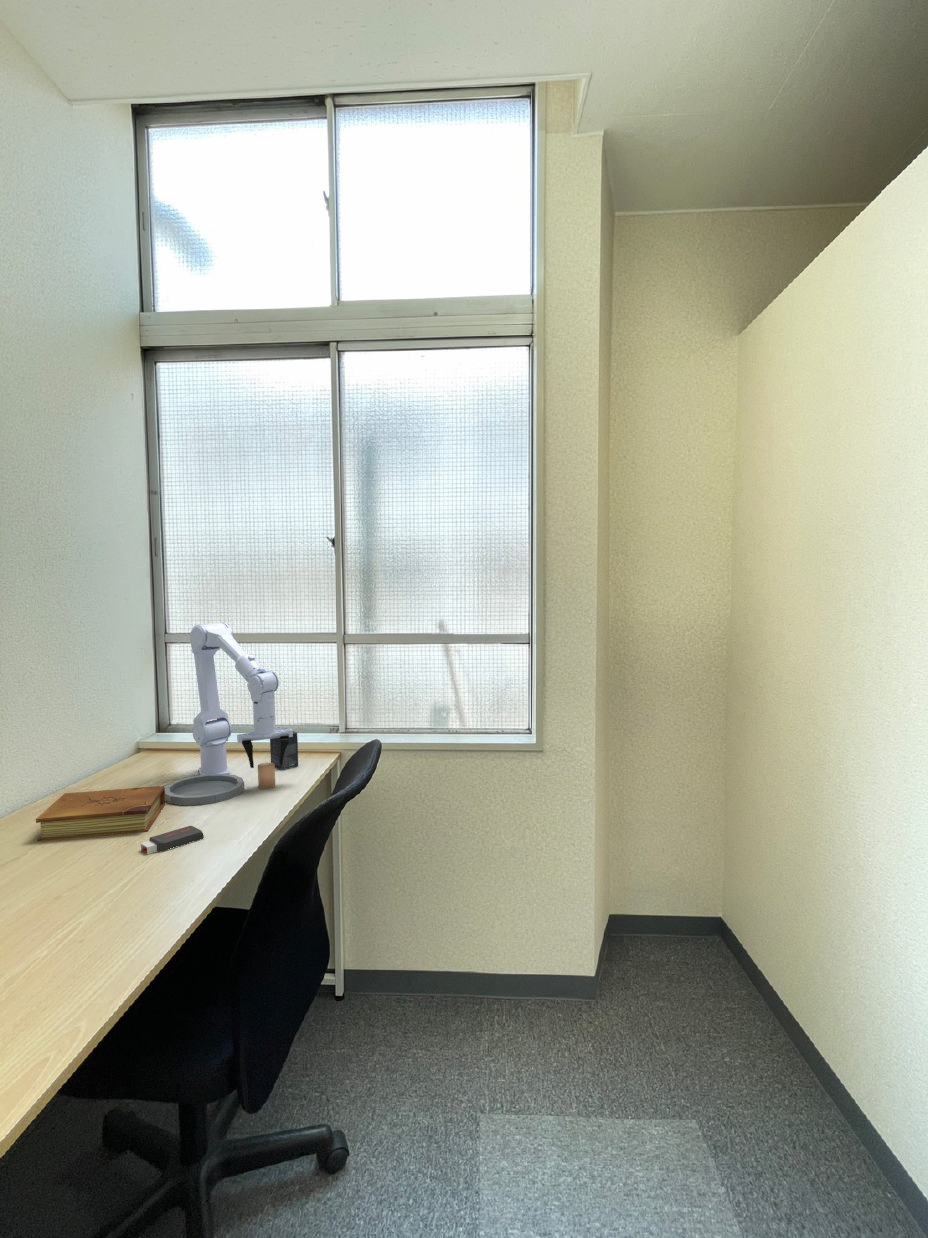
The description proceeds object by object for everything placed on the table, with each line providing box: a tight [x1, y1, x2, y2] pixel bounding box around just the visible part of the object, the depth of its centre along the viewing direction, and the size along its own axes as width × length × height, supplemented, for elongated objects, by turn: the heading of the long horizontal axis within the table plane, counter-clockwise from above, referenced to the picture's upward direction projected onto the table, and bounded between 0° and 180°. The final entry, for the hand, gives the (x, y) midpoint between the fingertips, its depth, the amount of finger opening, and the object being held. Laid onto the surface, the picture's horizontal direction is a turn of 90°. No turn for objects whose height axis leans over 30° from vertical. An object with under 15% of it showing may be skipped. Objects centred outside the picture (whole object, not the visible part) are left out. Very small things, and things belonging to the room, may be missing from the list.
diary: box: [35, 785, 167, 842], centre depth 164 cm, size 23×19×6 cm
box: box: [269, 730, 299, 770], centre depth 209 cm, size 8×6×11 cm
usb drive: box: [140, 825, 205, 855], centre depth 150 cm, size 5×12×3 cm, turn 138°
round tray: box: [164, 774, 245, 806], centre depth 185 cm, size 20×20×2 cm
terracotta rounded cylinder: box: [257, 761, 276, 790], centre depth 190 cm, size 4×4×6 cm
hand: (266, 765), depth 189 cm, fingers open, 7 cm apart
